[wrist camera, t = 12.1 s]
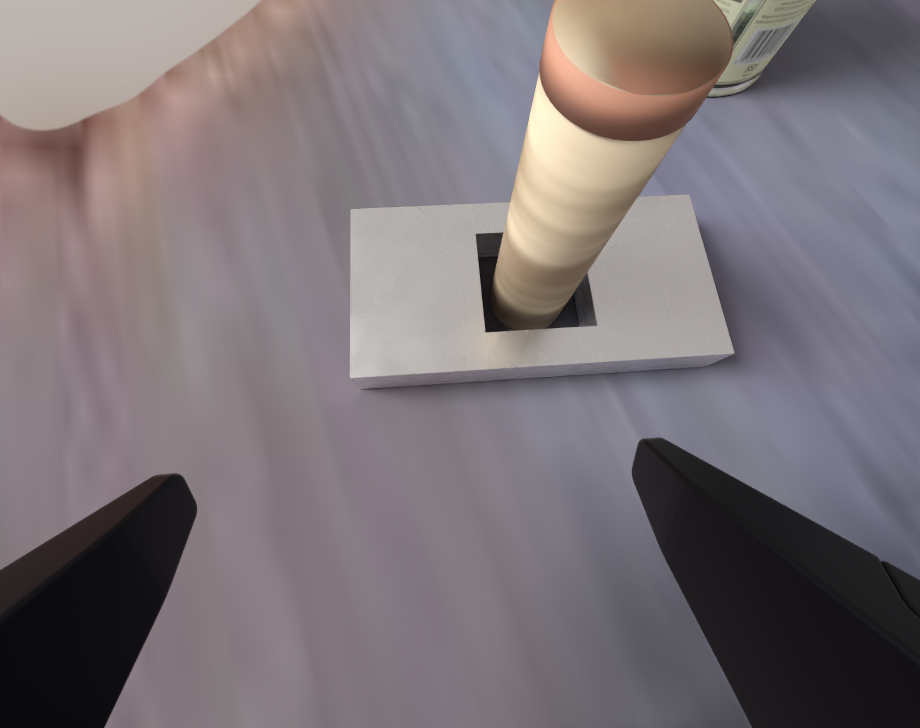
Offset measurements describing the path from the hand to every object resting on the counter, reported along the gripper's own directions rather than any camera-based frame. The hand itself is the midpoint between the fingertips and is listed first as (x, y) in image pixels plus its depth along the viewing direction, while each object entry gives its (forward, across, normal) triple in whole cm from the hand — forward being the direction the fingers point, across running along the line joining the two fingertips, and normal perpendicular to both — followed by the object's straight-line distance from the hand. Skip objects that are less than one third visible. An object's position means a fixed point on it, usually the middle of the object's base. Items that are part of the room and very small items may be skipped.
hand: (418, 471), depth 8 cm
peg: (+17, -6, +2) cm, 18 cm away
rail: (+17, -6, +2) cm, 18 cm away
